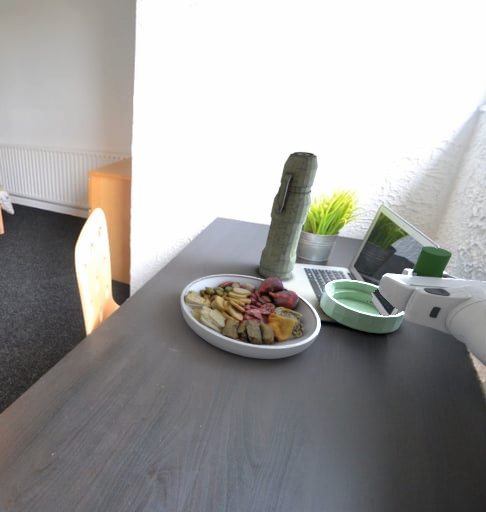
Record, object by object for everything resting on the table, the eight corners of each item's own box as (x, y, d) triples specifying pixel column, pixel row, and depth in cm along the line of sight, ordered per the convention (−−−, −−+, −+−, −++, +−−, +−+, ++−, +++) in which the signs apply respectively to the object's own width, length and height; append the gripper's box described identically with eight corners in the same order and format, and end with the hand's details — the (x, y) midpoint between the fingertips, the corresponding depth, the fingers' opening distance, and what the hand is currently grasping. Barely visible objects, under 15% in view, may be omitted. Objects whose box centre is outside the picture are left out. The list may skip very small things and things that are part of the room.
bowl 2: (378, 299, 96) (385, 282, 94) (414, 339, 82) (422, 320, 80) (310, 293, 99) (315, 277, 97) (333, 330, 85) (339, 312, 83)
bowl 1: (275, 390, 69) (285, 358, 66) (153, 319, 90) (156, 291, 87) (336, 326, 86) (346, 298, 83) (221, 278, 107) (225, 254, 104)
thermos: (299, 272, 109) (332, 152, 93) (279, 285, 103) (311, 159, 87) (270, 261, 116) (296, 148, 100) (249, 273, 109) (274, 154, 93)
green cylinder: (419, 297, 78) (442, 247, 73) (431, 309, 75) (457, 257, 69) (395, 295, 79) (417, 245, 74) (406, 307, 76) (430, 255, 70)
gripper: (555, 303, 59) (491, 263, 71) (409, 291, 63) (372, 255, 75) (534, 334, 62) (476, 291, 74) (396, 320, 66) (362, 282, 78)
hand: (422, 273), depth 75 cm, fingers closed on green cylinder, 4 cm apart
